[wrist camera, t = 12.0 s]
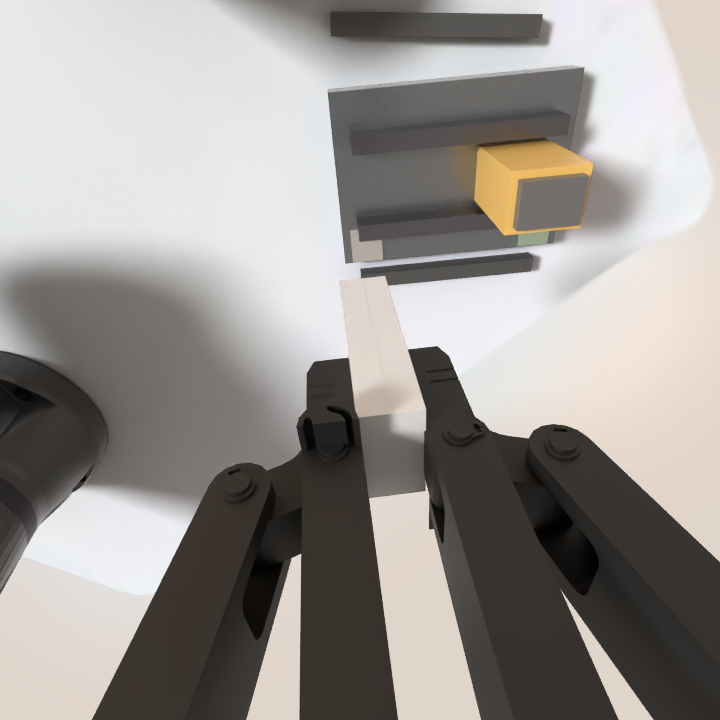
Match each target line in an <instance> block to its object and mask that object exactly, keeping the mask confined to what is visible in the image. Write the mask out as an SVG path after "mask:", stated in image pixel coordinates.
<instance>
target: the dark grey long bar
mask: <svg viewBox="0 0 720 720" xmlns="http://www.w3.org/2000/svg"><path fill="white" fill-rule="evenodd" d="M532 261H533V257H532V256H531V255H530V254H529V253H528V252H526V253H516V254H506V255H496V256H486V257H475V258H465V259H455V260H445V261H435V262H425V263H415V264H405V265H394V266H384V267H374V268H364V269H361V278H370V277H379V276H385V277H386V281H387V284H388V285H397V284H407V283H417V282H427V281H437V280H447V279H458V278H468V277H478V276H488V275H498V274H508V273H518V272H528V271H531V268H532Z"/></svg>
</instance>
